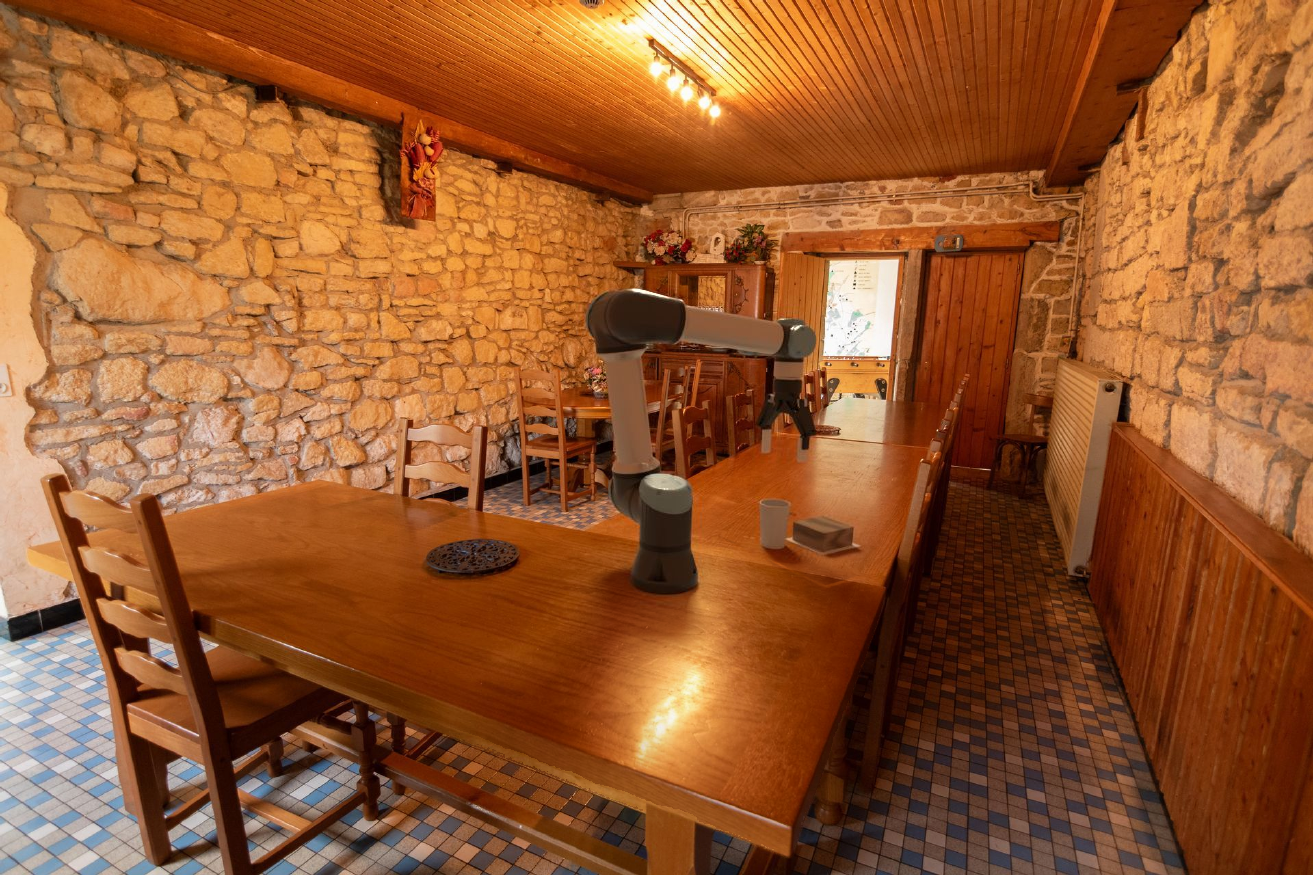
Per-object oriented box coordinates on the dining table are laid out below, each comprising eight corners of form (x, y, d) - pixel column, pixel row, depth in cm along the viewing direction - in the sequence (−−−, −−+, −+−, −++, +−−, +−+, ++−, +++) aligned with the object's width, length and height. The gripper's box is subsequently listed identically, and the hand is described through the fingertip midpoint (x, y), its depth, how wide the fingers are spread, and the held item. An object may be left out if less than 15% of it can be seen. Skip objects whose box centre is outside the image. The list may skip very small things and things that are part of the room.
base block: (822, 552, 157) (824, 533, 156) (792, 539, 166) (793, 521, 166) (852, 545, 163) (853, 526, 162) (821, 533, 172) (822, 516, 171)
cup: (779, 554, 157) (782, 509, 155) (751, 547, 161) (754, 503, 159) (793, 546, 163) (795, 502, 161) (766, 539, 168) (768, 497, 166)
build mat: (822, 557, 155) (823, 554, 155) (784, 540, 167) (784, 538, 167) (860, 547, 162) (860, 545, 162) (821, 532, 174) (821, 530, 174)
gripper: (834, 381, 154) (828, 464, 157) (766, 374, 174) (761, 448, 178) (813, 382, 150) (807, 467, 153) (745, 375, 170) (742, 450, 174)
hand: (783, 457), depth 166 cm, fingers open, 13 cm apart
